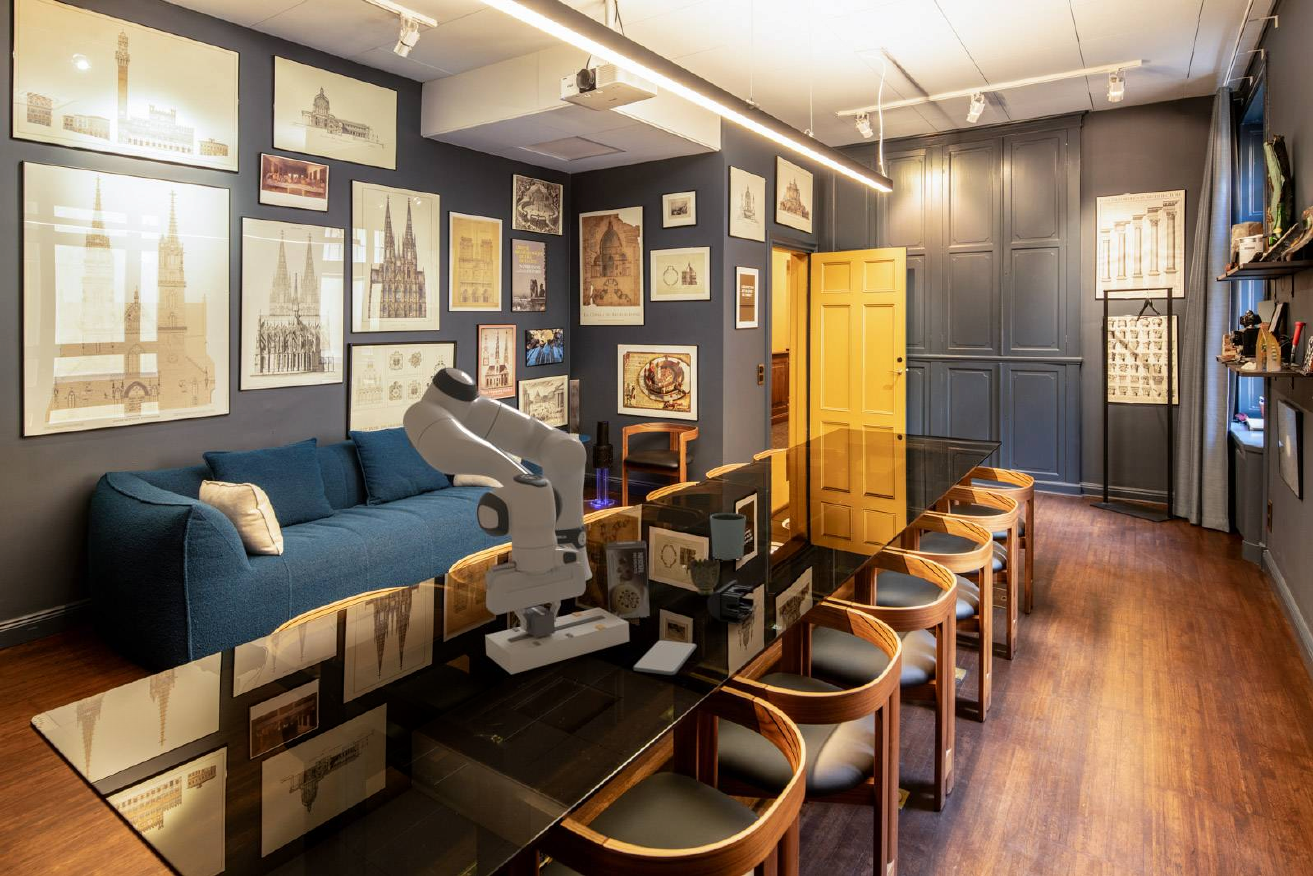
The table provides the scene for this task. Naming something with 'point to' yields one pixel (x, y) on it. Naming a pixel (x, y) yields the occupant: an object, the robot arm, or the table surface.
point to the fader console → (557, 640)
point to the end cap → (731, 602)
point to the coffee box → (627, 579)
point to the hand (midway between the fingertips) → (538, 625)
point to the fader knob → (540, 621)
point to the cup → (704, 575)
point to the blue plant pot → (727, 535)
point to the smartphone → (665, 657)
